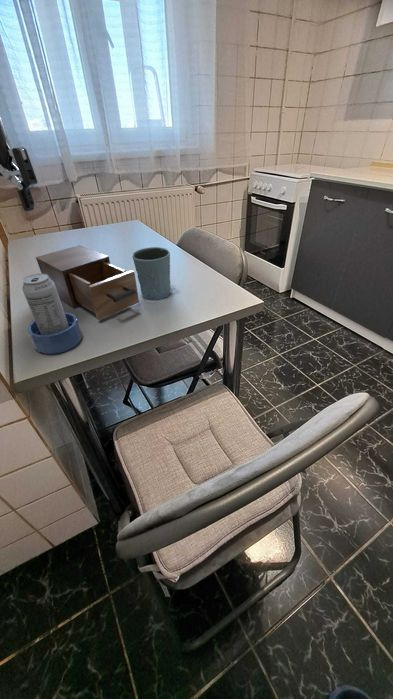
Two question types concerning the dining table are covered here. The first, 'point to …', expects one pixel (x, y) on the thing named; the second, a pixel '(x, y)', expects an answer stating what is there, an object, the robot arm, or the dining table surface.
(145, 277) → the blue ceramic cup
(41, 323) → the energy drink can
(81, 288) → the drawer
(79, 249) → the cabinet
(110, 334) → the dining table surface
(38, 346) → the bowl
